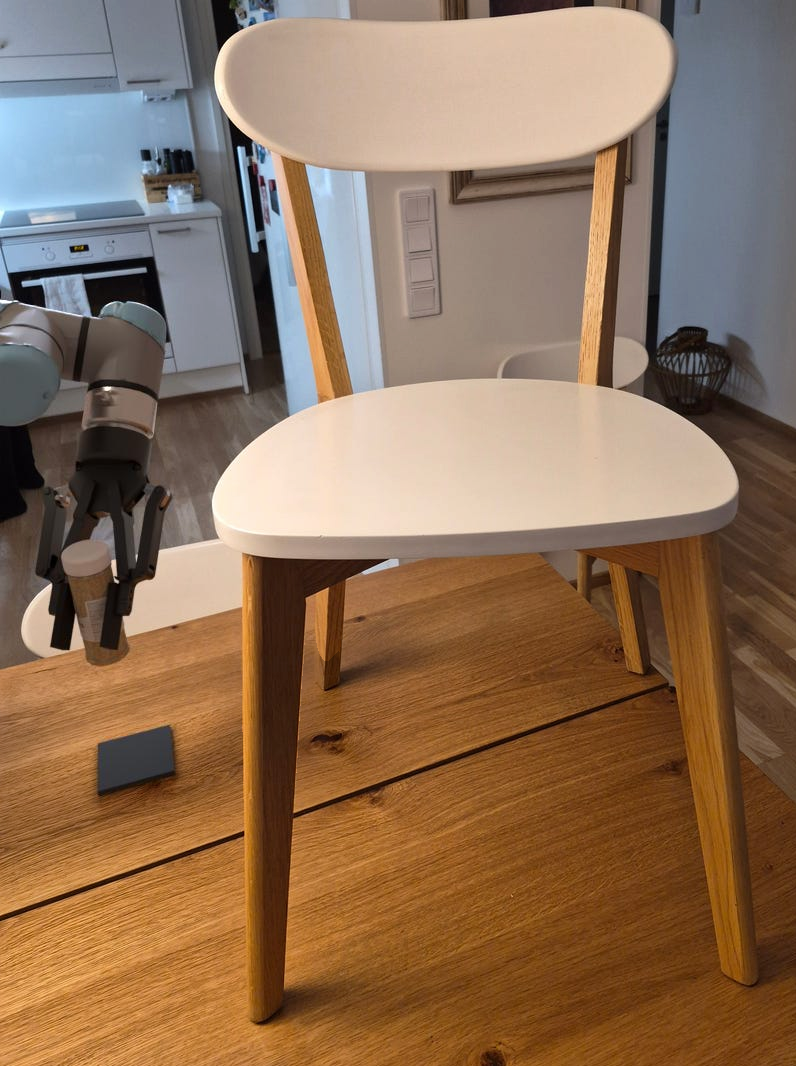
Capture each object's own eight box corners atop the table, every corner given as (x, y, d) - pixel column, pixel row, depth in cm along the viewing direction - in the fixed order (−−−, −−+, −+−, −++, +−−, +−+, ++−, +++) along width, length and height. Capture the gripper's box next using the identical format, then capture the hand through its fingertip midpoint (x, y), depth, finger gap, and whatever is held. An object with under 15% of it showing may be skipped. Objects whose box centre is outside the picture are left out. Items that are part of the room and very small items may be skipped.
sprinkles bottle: (83, 649, 93) (57, 544, 88) (127, 636, 95) (104, 533, 90) (89, 673, 90) (62, 565, 84) (134, 659, 92) (111, 553, 86)
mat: (98, 795, 93) (97, 791, 93) (98, 746, 100) (97, 742, 99) (175, 774, 96) (174, 770, 95) (170, 728, 102) (169, 724, 102)
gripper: (22, 423, 92) (-21, 644, 83) (182, 421, 91) (155, 642, 83) (56, 448, 99) (19, 653, 91) (205, 446, 98) (181, 652, 90)
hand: (84, 648), depth 87 cm, fingers closed on sprinkles bottle, 4 cm apart
